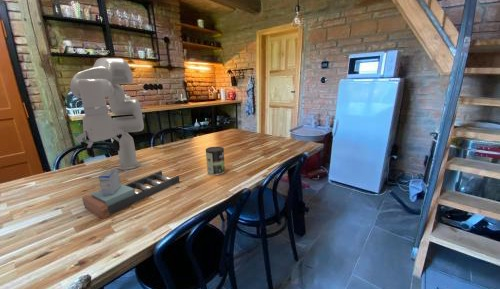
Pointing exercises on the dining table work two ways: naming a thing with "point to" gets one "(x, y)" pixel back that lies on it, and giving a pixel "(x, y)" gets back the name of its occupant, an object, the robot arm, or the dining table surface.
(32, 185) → the dining table surface
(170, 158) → the dining table surface
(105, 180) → the medicine box
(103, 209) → the roller track
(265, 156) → the dining table surface
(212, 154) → the coffee can
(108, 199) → the slab
